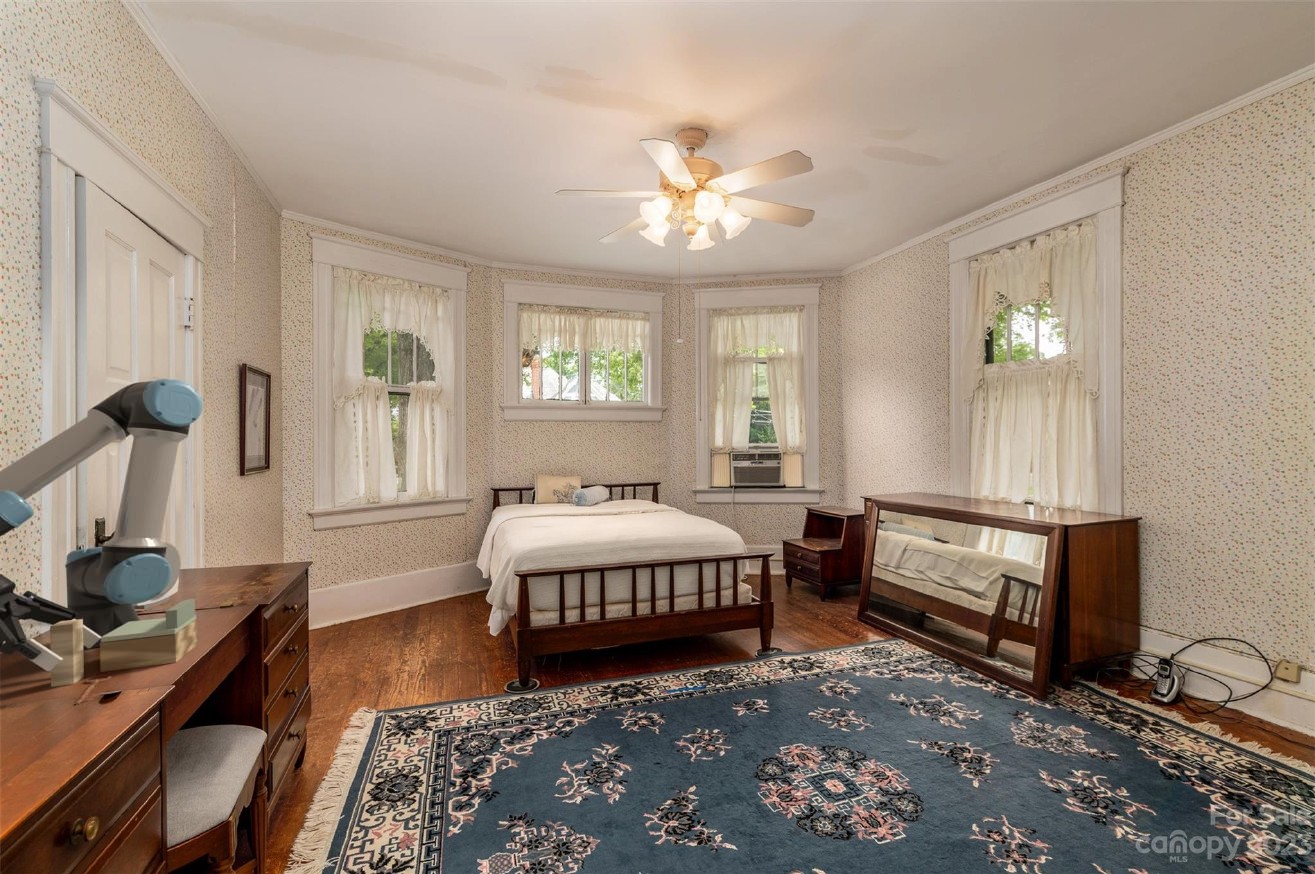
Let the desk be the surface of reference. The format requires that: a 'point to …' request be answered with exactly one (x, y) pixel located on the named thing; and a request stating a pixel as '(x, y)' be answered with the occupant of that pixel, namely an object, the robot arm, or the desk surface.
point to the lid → (156, 624)
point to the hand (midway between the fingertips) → (77, 653)
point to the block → (67, 652)
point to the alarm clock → (172, 586)
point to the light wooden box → (147, 649)
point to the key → (91, 688)
